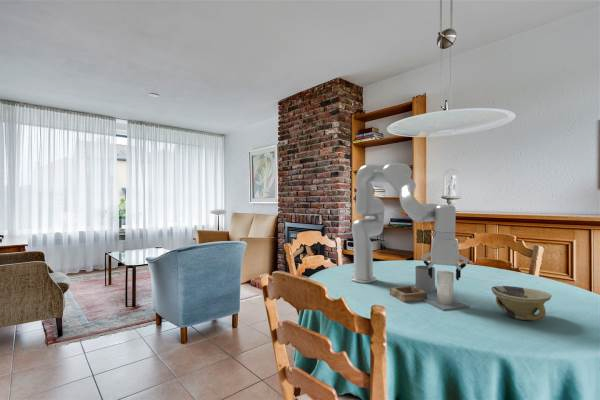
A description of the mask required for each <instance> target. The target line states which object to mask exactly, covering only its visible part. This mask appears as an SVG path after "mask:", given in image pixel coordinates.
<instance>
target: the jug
mask: <svg viewBox="0 0 600 400" xmlns="http://www.w3.org/2000/svg"><path fill="white" fill-rule="evenodd" d="M454 278H455V277H454V272H452V271H450V270H438V271H436V298H437V302H438V303H440V304H444V305H452V304H454V293H455V292H454V283H455V281H454Z"/></svg>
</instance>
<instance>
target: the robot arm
mask: <svg viewBox="0 0 600 400" xmlns="http://www.w3.org/2000/svg"><path fill="white" fill-rule="evenodd" d="M412 173H413V171H412V168H411V167H410V166H409V165H408V164H406V163H400V162H399V163H398V162H391V163H387V164H373V163H372V164H371V163H369V164H364V165H362V166H361V167H360V168H359V169H358V170H357V172H356V177H355V178H356V179H355V183H356V195H355V196H356V197H355V212H356V214H357V215H358V216H360V217H368V218H360V219H359V218H358V219H355V221H353V222H352V224H351V234H352V238H353V239H352V242H353V275H352V276H351V278H350V279H351V281H352V282H355V283H361V284H368V283H369V284H370V283H374V282H376V281H377V277H376V276H374V264H373V263H374V259H373V258H374V257H373V256H374V254H373V253H374V252H373V243H372V241H371V239H370V237H376V236H380V235H381V234H382V232H383V230H384V225H385V224H384V222H385V211H386V210H385V203H384V202H383V200H382V199H380V198H379V197H374V192H375V191H374V187H373V184H372V182H374V183H375V182H377V183H378V182H379V183H380V182H381V183H382V182H383V183H389V185H390V186H391V187H392V188H393V189H394V190H395V192H396V193H397V194H398V196H399V203H400V206H401V208H402V209H403V211H404V212H405V213H406V214H407V216H408V217H409V218H410V219H411V220H412V221H413V222H416V223H427V222H429V223H430V222H434V231H433V232H432V231H431V232H430V236H432V237H434V238H432V240H431V246H430V252H428V253H425V254H422V255H421V256H420V259H421V260H422V262H423V263H424V266H427V267H428V275H430V278H432V267H434V265H438V266H439V265H441V266H450V267H452V266H453V267H456V268H455V279H456V281H459V280H460V279H461V272H462V270H463V269H464V268H465V267H466V266H467V264H468V263H469V261H470V260H469V259H468V258H467V257H465V256H463V255H461V254H460V252H459V249H460V248H459V242H458V240H457V238H456V219H457V218H456V209H457V208H456V207H455V206H454V205H452V204H437V203H421V202H420V201H419V200H418V199H417V198H416V197H415V196H414V194H413V192H415V189H416V188H417V187H416V186H417V184H416V182H415V181H414V180H413V179H412V178H411V177H412ZM427 258H430V262H428V260H427ZM460 260H462V261H463V262H462V263H460ZM459 263H460V264H459Z"/></svg>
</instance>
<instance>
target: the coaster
mask: <svg viewBox="0 0 600 400" xmlns="http://www.w3.org/2000/svg"><path fill="white" fill-rule="evenodd" d="M422 301H423V302H425V303H427V304H428V305H431V306H432V307H435V308H437V309H439V310H441V311H443V312H446V311H452V310H459V309H460V310H461V309H468V308H470V305H469V304H466V303H464V302H462V301H459V300H456V299H454V304H452V305H444V304H440V303H438V302H437V297H432V298H427V299H423V300H422Z"/></svg>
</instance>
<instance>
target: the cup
mask: <svg viewBox="0 0 600 400" xmlns="http://www.w3.org/2000/svg"><path fill="white" fill-rule="evenodd" d="M415 287H416V288H418V289H420V290H423V291H425V292H427V293H428V292H429V293H431V292H435V291H436V268H435V267H434V266H432V278H430V275H428V267H427V266H426V265H416V266H415Z"/></svg>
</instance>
